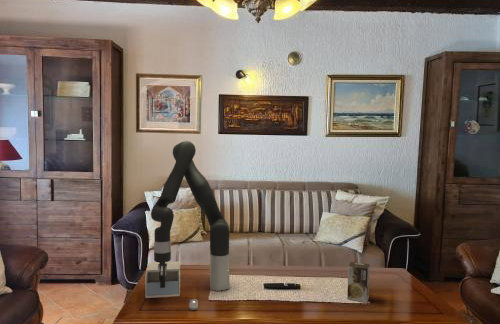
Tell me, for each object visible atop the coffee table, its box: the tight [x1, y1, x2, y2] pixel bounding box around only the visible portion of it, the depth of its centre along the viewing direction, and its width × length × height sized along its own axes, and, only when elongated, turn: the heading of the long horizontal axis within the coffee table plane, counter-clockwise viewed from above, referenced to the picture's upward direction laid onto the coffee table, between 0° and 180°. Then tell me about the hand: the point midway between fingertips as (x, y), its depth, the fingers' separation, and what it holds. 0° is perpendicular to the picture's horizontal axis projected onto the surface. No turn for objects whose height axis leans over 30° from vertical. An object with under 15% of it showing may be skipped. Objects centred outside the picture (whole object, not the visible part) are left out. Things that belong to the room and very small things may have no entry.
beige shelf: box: [144, 261, 181, 299], centre depth 187 cm, size 16×15×12 cm
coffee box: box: [346, 261, 371, 303], centre depth 180 cm, size 9×6×16 cm
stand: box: [189, 298, 199, 312], centre depth 169 cm, size 4×4×4 cm
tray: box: [147, 278, 179, 295], centre depth 186 cm, size 14×14×6 cm
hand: (162, 287), depth 177 cm, fingers closed
